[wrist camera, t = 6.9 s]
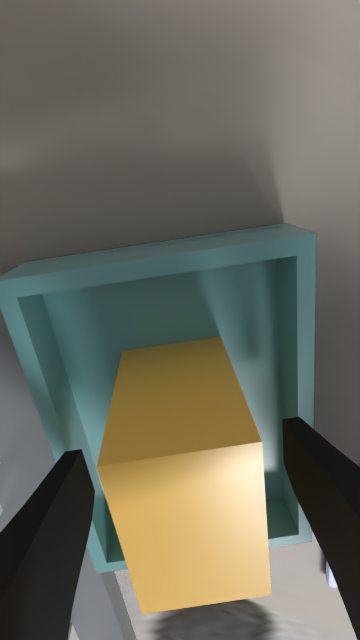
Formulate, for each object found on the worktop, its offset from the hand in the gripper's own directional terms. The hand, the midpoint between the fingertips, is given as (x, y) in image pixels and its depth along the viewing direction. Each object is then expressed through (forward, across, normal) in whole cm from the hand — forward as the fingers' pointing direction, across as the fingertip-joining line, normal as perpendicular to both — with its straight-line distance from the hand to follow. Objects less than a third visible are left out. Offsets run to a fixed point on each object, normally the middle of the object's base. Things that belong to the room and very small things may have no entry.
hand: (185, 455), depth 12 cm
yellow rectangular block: (+3, 0, 0) cm, 3 cm away
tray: (+4, 0, 0) cm, 4 cm away
